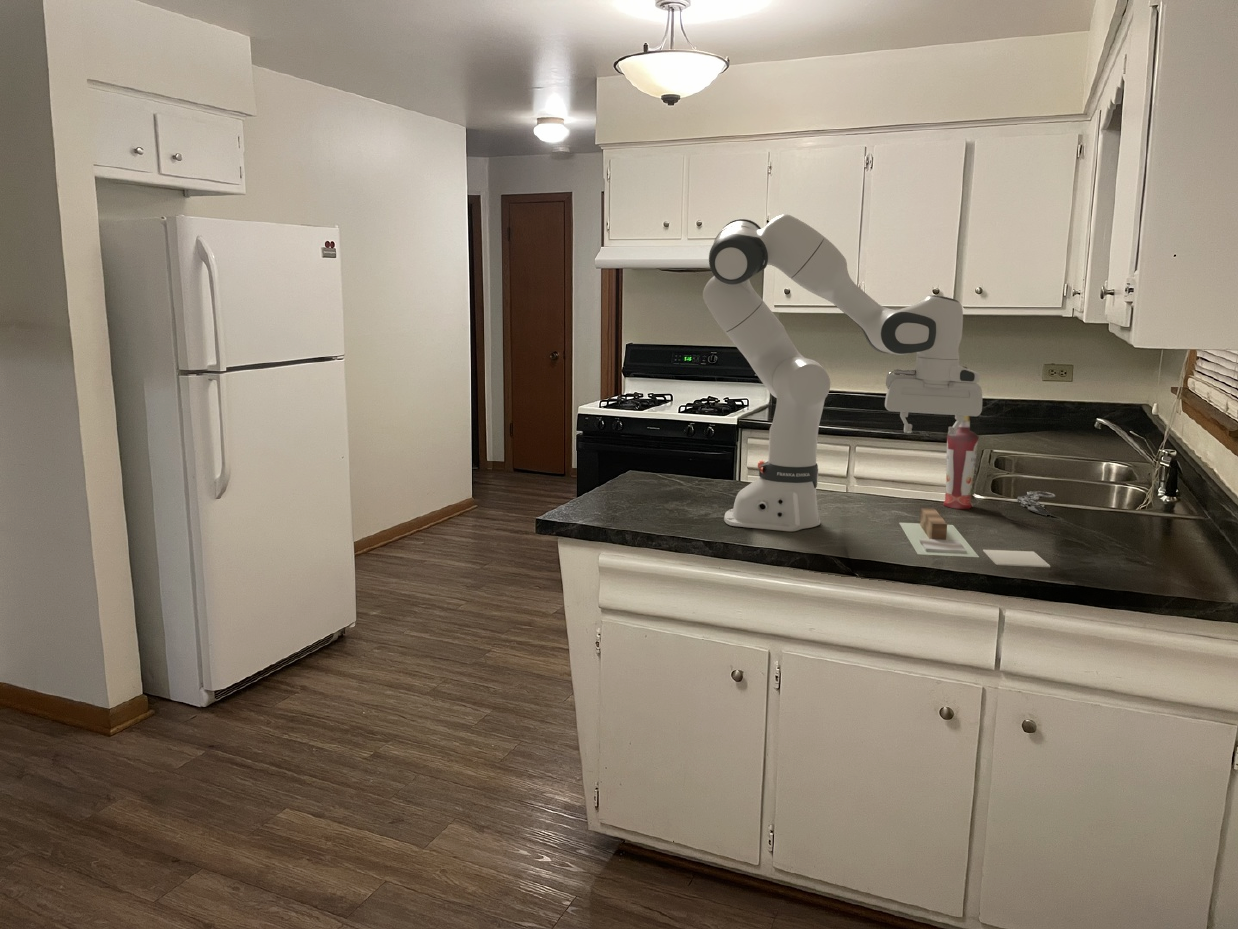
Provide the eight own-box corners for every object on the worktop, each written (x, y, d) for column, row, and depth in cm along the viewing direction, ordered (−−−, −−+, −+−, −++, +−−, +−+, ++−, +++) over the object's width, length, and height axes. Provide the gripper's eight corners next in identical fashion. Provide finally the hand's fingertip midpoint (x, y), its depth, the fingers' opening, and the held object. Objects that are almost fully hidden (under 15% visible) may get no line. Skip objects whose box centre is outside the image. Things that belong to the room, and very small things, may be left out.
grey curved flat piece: (1058, 515, 216) (1013, 508, 221) (1057, 521, 217) (1013, 514, 221) (1060, 493, 241) (1020, 487, 246) (1059, 499, 242) (1019, 493, 246)
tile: (982, 557, 185) (996, 572, 176) (983, 549, 185) (996, 563, 175) (1032, 559, 184) (1049, 574, 174) (1033, 551, 184) (1050, 565, 174)
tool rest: (917, 558, 183) (917, 554, 182) (898, 526, 208) (899, 522, 208) (979, 561, 181) (979, 557, 181) (952, 529, 206) (952, 525, 206)
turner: (908, 524, 206) (910, 507, 205) (945, 526, 204) (946, 509, 204) (925, 551, 184) (927, 532, 184) (966, 553, 183) (967, 534, 182)
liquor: (970, 514, 220) (979, 401, 214) (939, 511, 223) (947, 399, 218) (974, 508, 226) (983, 398, 221) (944, 505, 229) (952, 396, 224)
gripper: (889, 369, 194) (882, 432, 196) (987, 375, 191) (980, 439, 193) (885, 367, 200) (879, 428, 203) (981, 372, 197) (974, 434, 199)
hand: (929, 433), depth 198 cm, fingers open, 8 cm apart
